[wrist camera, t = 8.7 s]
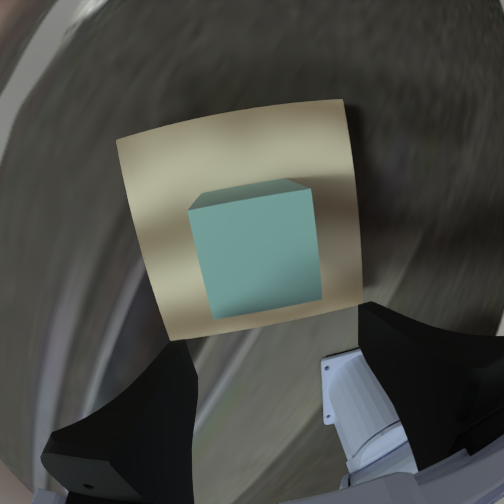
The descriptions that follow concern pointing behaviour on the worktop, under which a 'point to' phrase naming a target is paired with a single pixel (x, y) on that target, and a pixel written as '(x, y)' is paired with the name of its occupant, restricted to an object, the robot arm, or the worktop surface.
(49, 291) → the worktop surface
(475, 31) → the worktop surface
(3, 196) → the worktop surface
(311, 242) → the teal block
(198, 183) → the birch base board
